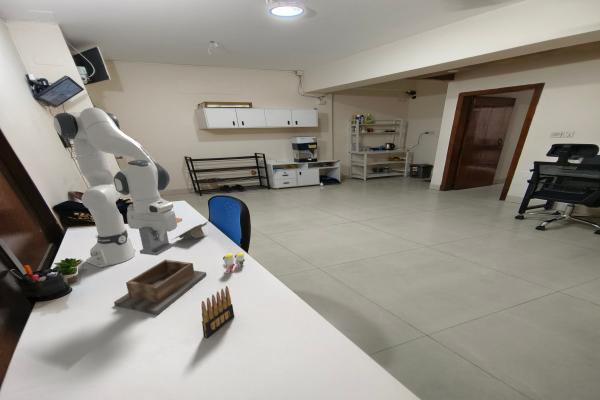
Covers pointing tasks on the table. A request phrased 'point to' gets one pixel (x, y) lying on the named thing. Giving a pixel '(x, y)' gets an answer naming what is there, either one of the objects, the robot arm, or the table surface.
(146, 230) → the metal bracket
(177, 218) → the orange square frame
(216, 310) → the bullet clip
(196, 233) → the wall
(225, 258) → the toy figures
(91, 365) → the table surface
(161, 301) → the well box
